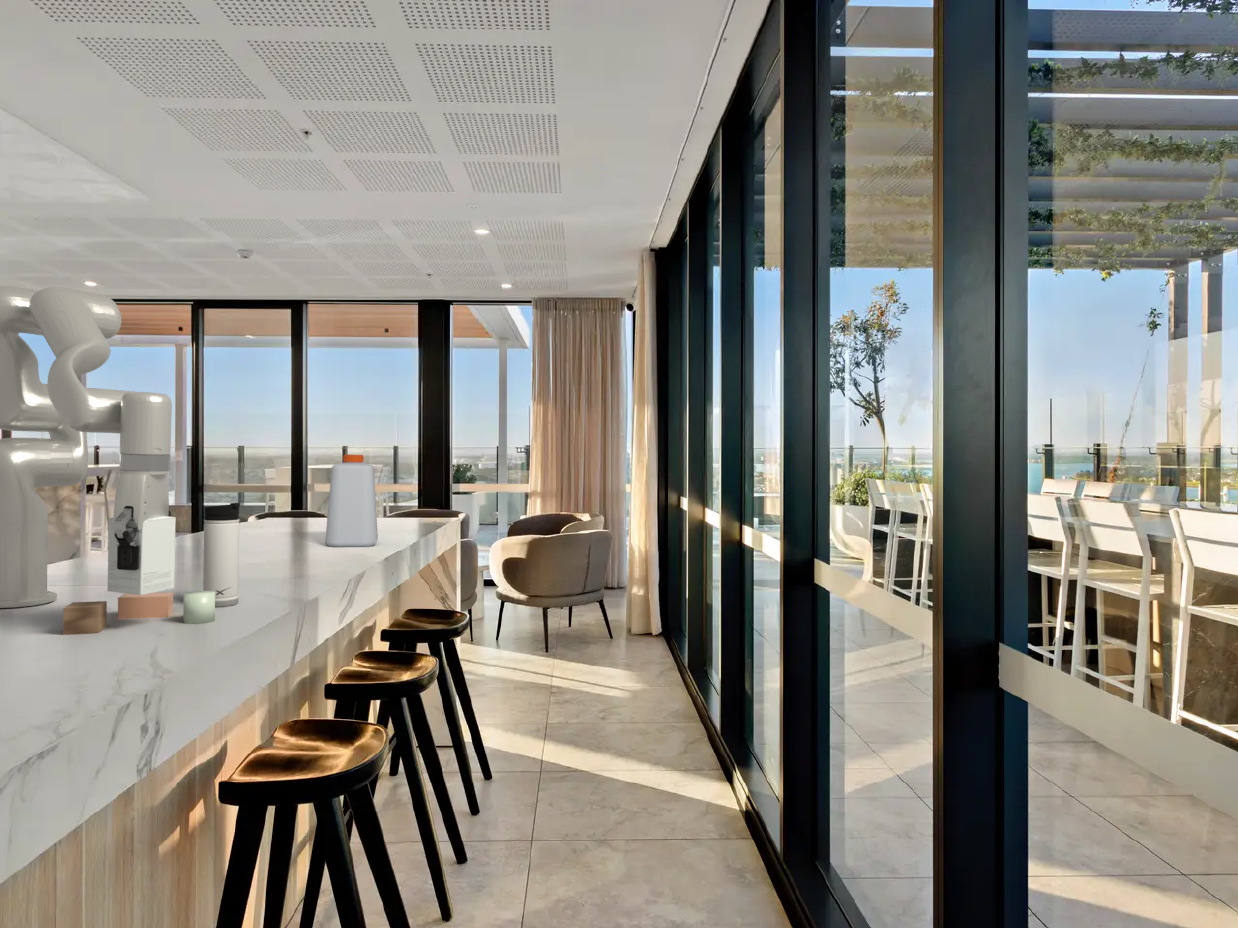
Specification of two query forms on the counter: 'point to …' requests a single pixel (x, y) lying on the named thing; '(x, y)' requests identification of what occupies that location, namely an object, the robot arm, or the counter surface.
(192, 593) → the sage plastic cylinder
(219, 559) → the travel mug
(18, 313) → the robot arm
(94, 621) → the walnut block
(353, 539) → the plastic bottle
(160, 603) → the terracotta brick
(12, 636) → the counter surface
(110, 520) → the supplement box
